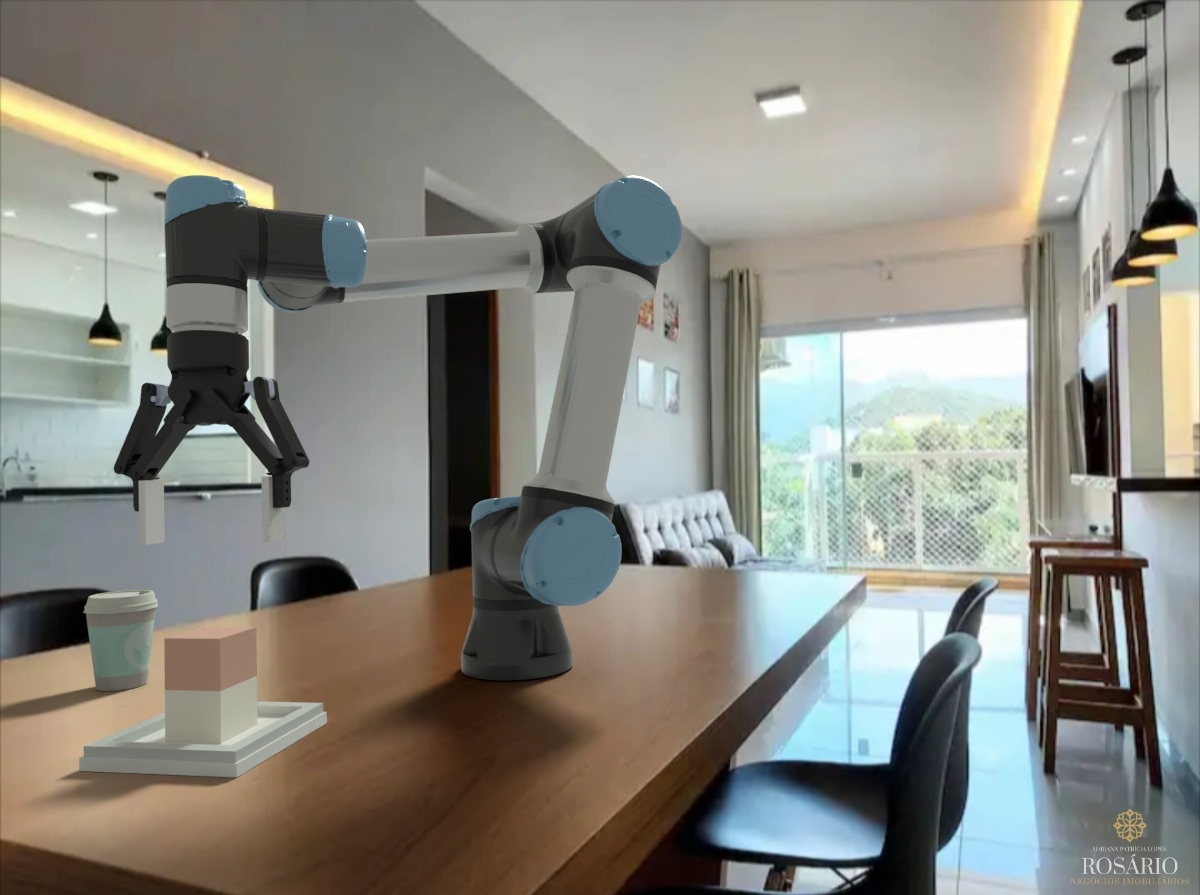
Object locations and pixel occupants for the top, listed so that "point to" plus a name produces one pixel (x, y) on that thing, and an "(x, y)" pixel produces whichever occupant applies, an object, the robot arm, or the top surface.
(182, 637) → the brick stack
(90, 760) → the base plate
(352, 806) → the top surface
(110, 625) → the coffee cup
